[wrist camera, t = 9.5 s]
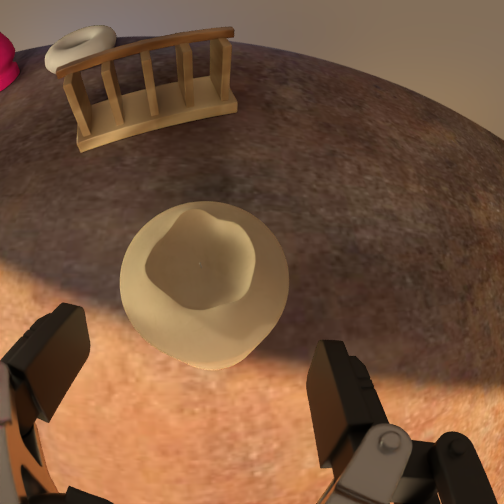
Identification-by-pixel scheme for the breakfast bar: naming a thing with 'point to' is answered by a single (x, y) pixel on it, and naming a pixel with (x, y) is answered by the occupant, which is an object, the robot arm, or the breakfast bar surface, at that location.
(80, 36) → the donut
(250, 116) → the breakfast bar surface
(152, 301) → the candle
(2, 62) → the pepper mill
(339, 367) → the robot arm
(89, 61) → the toast rack
